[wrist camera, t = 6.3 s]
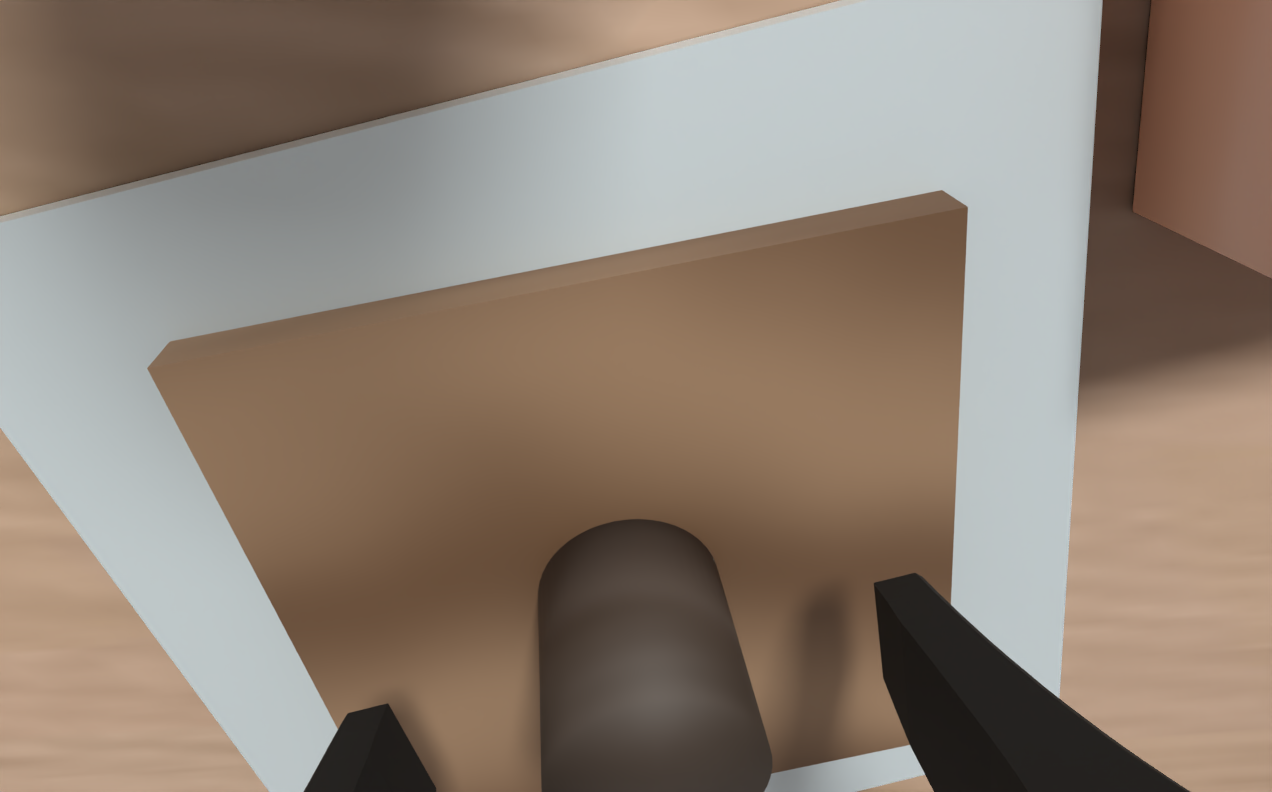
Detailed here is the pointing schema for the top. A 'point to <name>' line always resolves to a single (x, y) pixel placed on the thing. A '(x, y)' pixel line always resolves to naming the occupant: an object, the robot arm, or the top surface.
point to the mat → (565, 233)
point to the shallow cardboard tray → (1209, 126)
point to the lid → (606, 497)
